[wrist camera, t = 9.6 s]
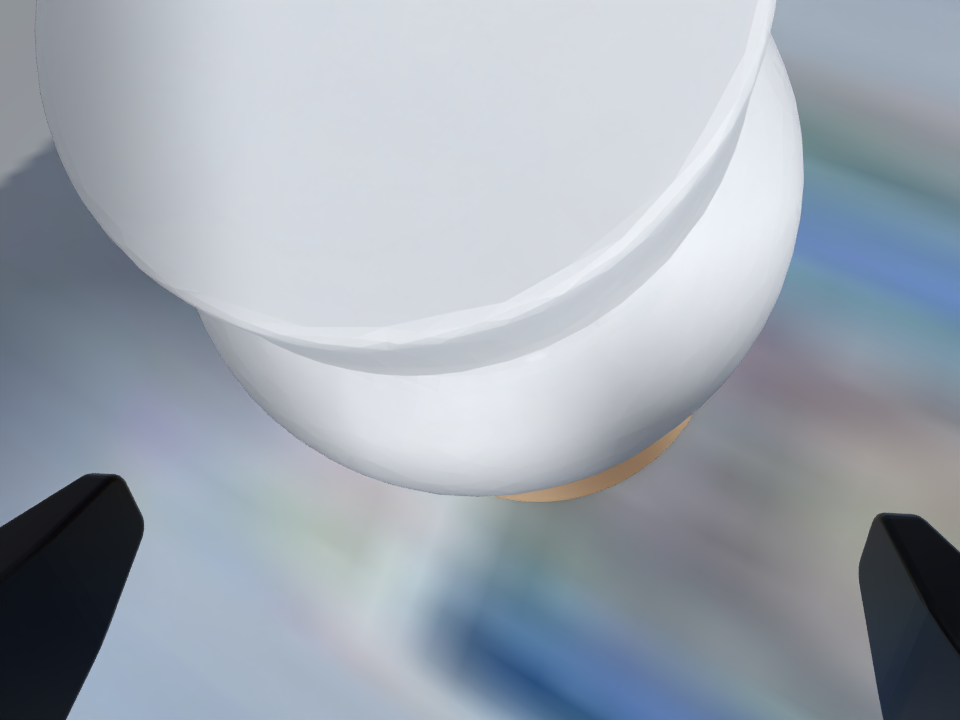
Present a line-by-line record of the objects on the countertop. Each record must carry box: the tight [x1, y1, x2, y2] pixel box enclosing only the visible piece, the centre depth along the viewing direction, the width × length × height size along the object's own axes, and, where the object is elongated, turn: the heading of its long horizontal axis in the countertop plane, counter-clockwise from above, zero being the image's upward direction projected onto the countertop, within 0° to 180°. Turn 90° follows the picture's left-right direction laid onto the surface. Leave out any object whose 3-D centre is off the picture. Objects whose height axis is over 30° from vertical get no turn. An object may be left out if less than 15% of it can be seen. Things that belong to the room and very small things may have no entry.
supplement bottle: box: [35, 0, 804, 497], centre depth 11 cm, size 7×7×13 cm
